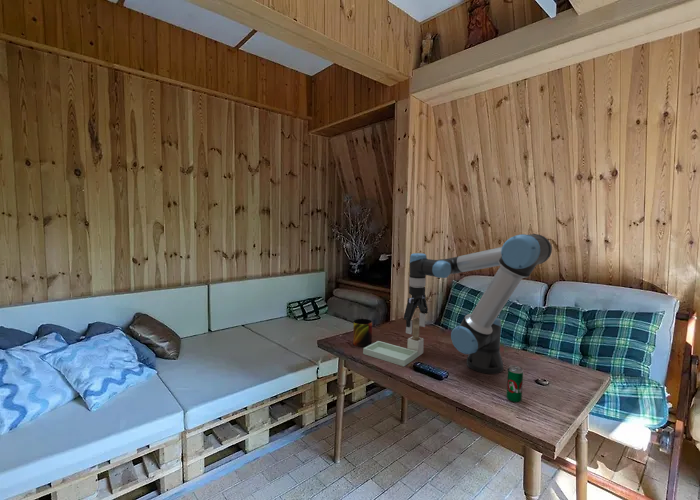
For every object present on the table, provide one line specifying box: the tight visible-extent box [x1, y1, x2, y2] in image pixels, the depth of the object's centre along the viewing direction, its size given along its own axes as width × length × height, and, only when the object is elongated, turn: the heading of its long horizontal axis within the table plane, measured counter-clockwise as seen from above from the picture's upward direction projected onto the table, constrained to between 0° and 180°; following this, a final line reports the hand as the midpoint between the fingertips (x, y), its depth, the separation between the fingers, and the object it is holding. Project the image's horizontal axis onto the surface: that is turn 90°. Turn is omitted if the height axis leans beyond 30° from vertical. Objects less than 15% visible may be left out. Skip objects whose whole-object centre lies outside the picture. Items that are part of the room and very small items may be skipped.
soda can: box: [505, 365, 524, 403], centre depth 124 cm, size 5×5×12 cm
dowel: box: [412, 317, 420, 341], centre depth 163 cm, size 3×3×17 cm
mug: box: [352, 318, 373, 348], centre depth 179 cm, size 10×14×12 cm
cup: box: [406, 335, 425, 357], centre depth 164 cm, size 6×6×8 cm
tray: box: [362, 340, 419, 367], centre depth 161 cm, size 22×13×4 cm, turn 52°
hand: (415, 329), depth 163 cm, fingers open, 13 cm apart
